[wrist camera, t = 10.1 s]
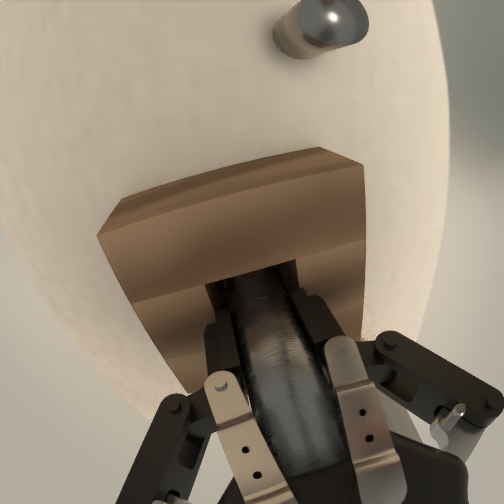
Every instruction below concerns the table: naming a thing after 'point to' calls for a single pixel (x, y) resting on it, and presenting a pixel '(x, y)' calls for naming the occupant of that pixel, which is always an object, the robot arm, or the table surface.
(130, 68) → the table surface
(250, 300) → the tall pin
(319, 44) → the short pin
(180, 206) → the guide block
